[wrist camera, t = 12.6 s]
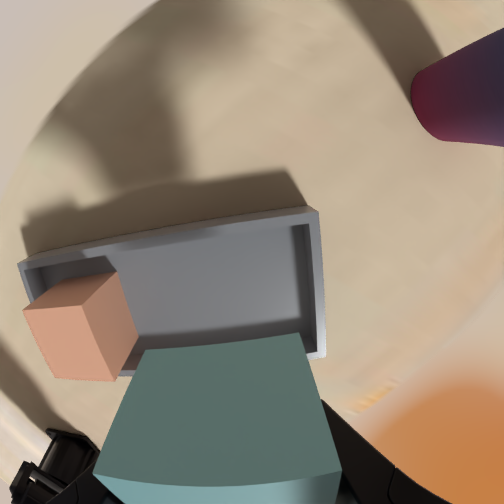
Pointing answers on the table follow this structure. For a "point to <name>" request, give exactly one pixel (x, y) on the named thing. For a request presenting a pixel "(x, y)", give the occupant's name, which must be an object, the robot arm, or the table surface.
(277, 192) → the table surface
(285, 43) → the table surface
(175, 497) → the teal block
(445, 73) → the cup
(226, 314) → the tray
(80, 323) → the terracotta block
